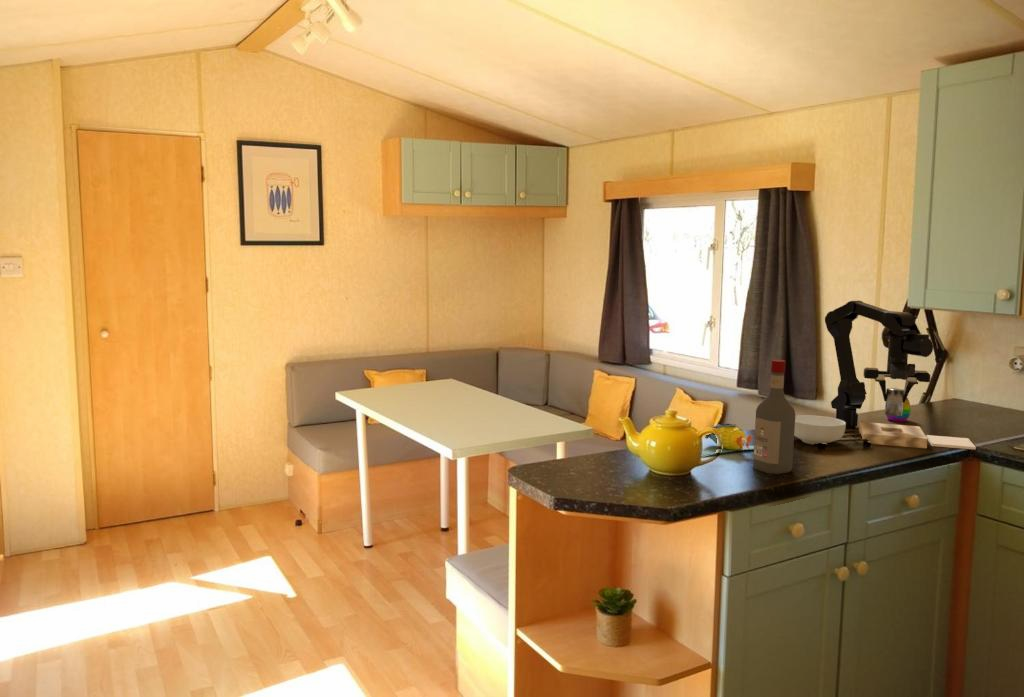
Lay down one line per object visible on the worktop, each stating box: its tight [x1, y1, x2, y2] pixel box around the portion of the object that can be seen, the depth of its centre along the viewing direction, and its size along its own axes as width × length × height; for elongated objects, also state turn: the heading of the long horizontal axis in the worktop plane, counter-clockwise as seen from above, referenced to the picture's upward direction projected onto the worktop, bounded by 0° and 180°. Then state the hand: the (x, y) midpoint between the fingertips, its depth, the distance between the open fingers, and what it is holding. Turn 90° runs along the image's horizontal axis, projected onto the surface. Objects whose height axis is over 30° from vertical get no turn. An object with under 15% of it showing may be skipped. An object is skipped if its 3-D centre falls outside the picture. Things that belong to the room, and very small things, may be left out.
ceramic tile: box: [925, 434, 977, 451], centre depth 266 cm, size 12×12×1 cm
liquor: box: [752, 359, 797, 475], centre depth 231 cm, size 9×9×30 cm
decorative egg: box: [885, 397, 912, 423], centre depth 298 cm, size 8×8×10 cm
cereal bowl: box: [794, 414, 847, 445], centre depth 265 cm, size 17×17×7 cm
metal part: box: [884, 387, 904, 416], centre depth 269 cm, size 5×5×8 cm
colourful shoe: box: [701, 423, 755, 458], centre depth 253 cm, size 28×9×15 cm
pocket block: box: [858, 421, 928, 449], centre depth 270 cm, size 18×18×3 cm
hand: (894, 401), depth 269 cm, fingers closed on metal part, 5 cm apart
